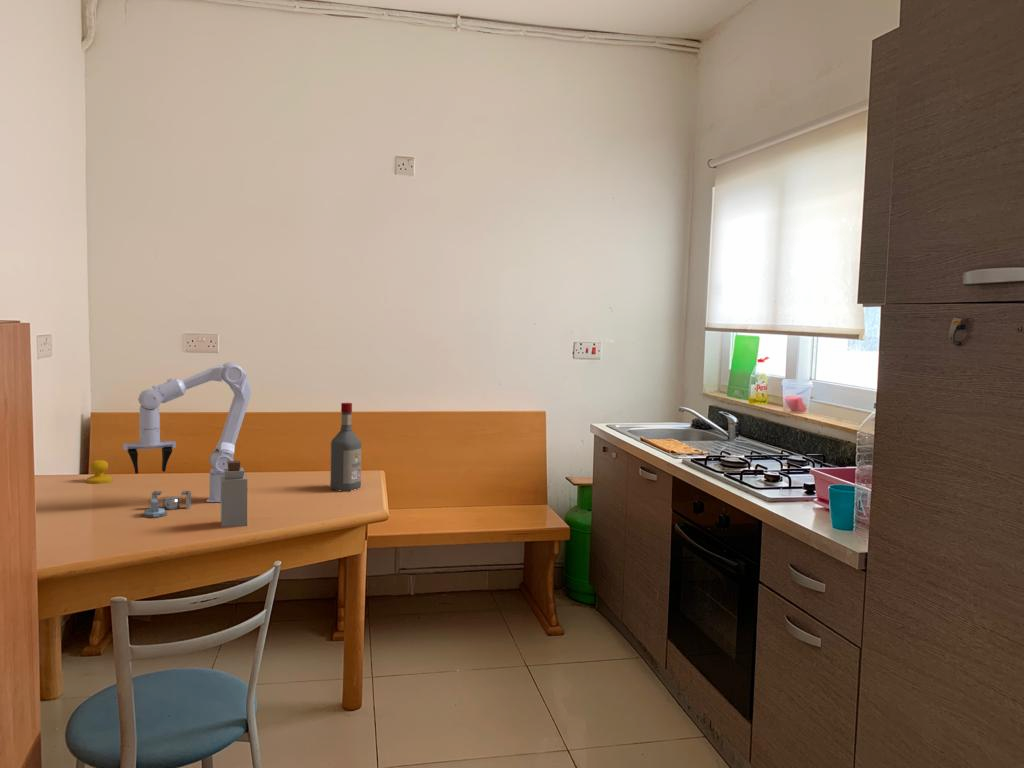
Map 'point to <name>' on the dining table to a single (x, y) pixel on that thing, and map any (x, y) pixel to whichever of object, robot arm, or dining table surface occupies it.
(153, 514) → the cap
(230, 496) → the perfume bottle
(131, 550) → the dining table surface
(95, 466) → the doorknob
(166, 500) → the metal ball with blocks
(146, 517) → the pad
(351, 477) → the liquor
